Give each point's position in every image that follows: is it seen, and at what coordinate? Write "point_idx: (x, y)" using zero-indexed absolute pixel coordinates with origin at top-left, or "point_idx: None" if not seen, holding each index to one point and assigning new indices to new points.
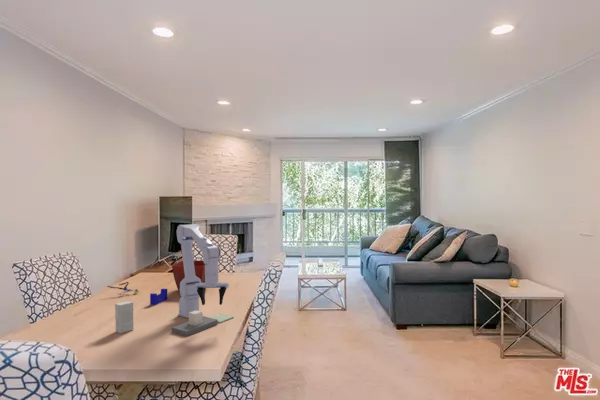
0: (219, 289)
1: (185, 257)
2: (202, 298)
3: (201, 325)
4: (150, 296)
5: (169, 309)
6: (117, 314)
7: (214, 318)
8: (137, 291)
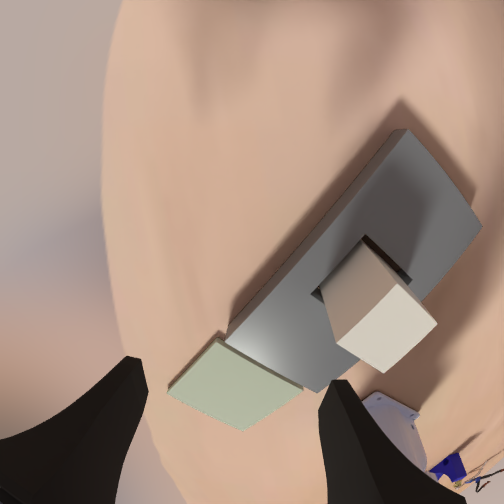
0: (18, 499)
1: None
2: (362, 438)
3: (321, 242)
4: (464, 470)
5: (426, 445)
6: None
7: (258, 386)
8: (456, 484)
